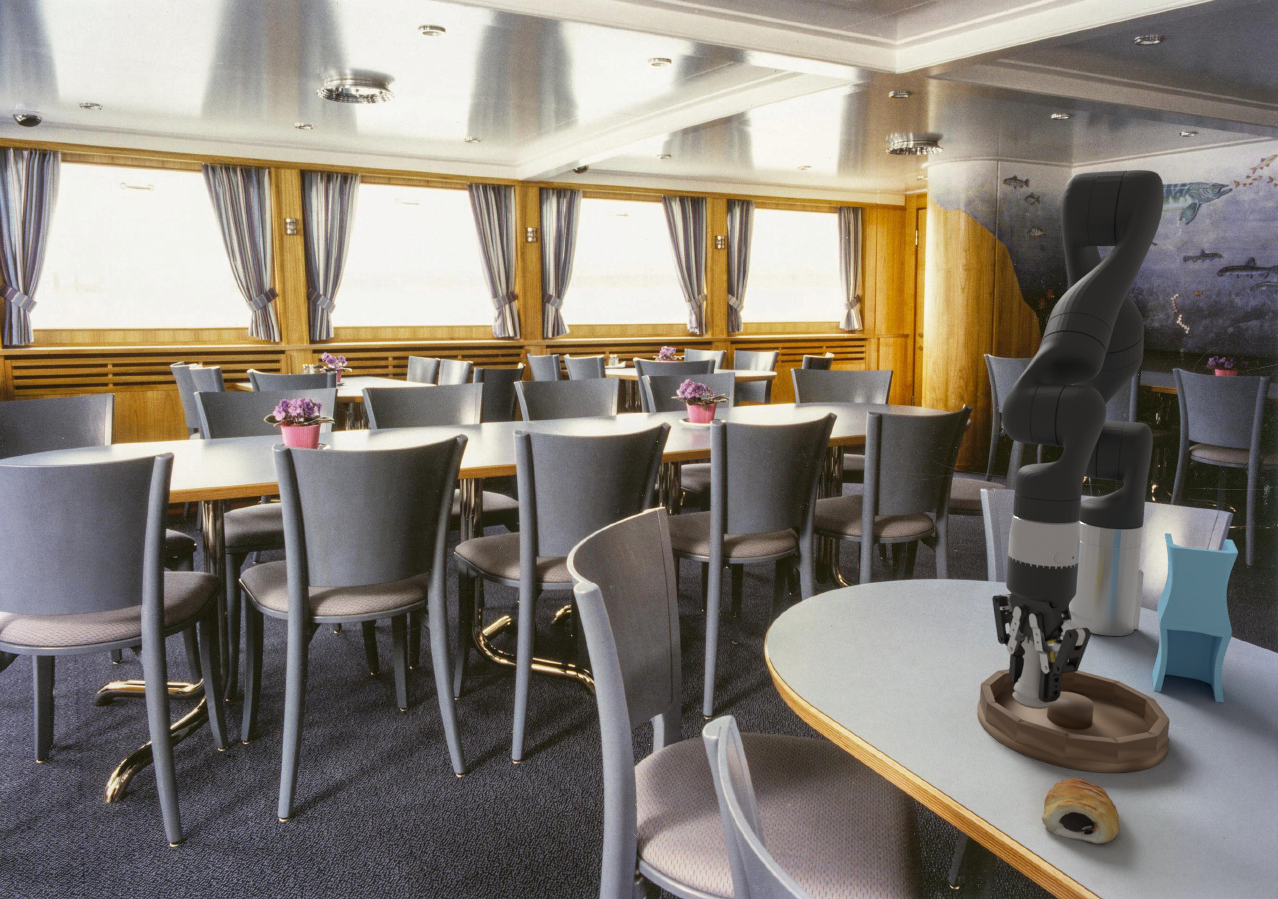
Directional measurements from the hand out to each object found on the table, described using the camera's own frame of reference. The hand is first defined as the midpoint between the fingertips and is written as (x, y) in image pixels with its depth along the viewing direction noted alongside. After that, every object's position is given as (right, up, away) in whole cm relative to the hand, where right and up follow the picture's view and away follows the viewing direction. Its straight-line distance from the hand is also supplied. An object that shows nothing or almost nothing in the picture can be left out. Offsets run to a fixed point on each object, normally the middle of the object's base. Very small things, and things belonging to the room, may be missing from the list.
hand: (1033, 690), depth 104 cm
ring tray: (+5, -5, +3) cm, 8 cm away
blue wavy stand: (+27, -3, +14) cm, 31 cm away
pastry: (-3, -9, -16) cm, 19 cm away
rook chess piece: (0, -2, 0) cm, 1 cm away
